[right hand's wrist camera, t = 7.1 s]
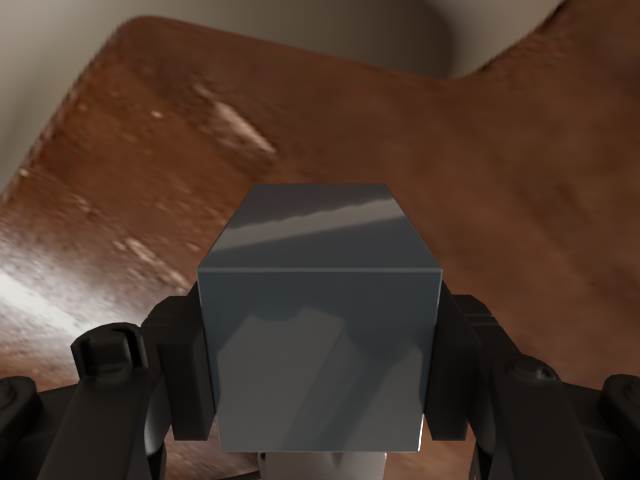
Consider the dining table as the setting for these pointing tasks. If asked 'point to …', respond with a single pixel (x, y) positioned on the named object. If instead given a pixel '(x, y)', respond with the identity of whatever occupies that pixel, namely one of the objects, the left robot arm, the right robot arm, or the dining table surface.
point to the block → (319, 321)
